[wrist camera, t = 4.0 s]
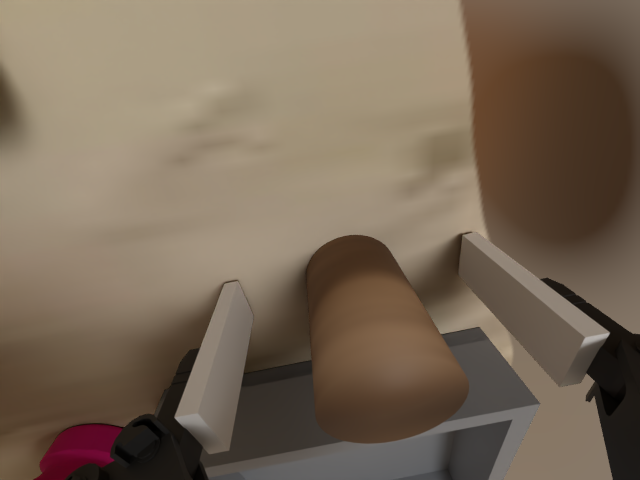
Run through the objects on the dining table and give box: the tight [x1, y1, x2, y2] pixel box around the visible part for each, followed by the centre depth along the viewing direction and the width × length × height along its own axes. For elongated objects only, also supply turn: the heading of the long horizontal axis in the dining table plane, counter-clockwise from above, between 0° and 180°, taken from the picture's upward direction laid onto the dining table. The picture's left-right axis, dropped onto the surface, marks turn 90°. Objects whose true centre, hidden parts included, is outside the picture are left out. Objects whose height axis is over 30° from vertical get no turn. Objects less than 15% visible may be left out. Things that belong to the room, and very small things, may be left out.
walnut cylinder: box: [306, 235, 469, 444], centre depth 11 cm, size 5×5×7 cm
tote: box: [154, 327, 540, 480], centre depth 21 cm, size 22×22×5 cm
